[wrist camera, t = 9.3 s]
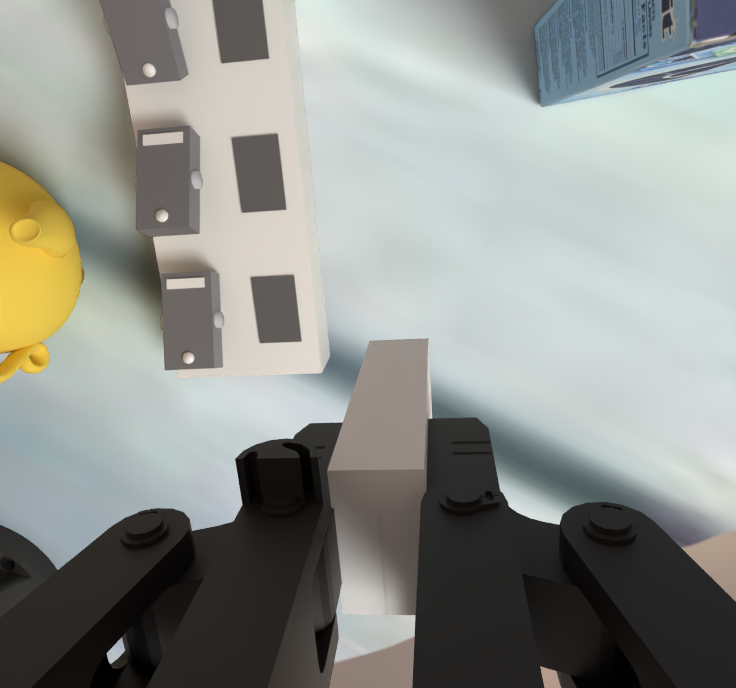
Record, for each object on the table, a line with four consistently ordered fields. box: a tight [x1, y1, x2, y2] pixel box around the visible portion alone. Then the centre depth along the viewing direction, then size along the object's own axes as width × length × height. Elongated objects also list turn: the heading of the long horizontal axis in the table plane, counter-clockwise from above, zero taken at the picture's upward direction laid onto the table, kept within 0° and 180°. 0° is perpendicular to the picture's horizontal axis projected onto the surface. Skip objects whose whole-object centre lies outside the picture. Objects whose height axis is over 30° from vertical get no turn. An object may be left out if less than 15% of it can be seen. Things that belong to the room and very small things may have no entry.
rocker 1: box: [100, 0, 189, 86], centre depth 33 cm, size 4×6×2 cm, turn 4°
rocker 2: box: [134, 125, 203, 237], centre depth 36 cm, size 4×6×2 cm, turn 5°
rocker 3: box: [160, 271, 224, 370], centre depth 38 cm, size 4×6×2 cm, turn 4°
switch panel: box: [124, 0, 330, 378], centre depth 39 cm, size 10×26×4 cm, turn 4°
